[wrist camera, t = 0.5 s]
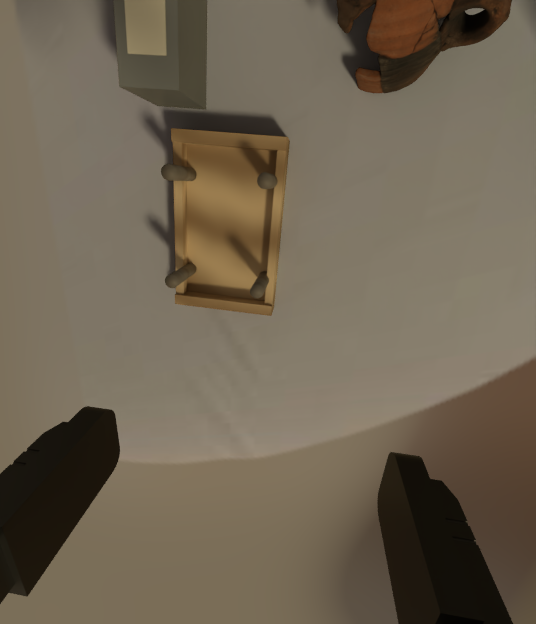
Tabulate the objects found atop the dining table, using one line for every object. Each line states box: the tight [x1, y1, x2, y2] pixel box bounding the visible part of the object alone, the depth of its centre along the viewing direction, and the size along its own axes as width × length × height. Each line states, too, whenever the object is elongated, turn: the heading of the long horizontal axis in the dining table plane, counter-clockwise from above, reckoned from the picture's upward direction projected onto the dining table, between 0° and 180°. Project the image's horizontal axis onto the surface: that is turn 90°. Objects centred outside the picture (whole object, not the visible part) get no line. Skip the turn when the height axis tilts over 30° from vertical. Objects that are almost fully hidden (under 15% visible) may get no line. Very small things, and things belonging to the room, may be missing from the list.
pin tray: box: [161, 128, 290, 316], centre depth 30 cm, size 16×10×6 cm, turn 175°
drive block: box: [113, 0, 207, 109], centre depth 25 cm, size 10×4×7 cm, turn 175°
